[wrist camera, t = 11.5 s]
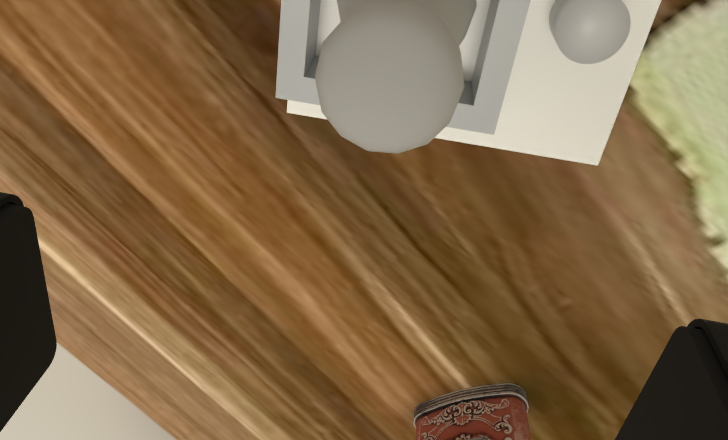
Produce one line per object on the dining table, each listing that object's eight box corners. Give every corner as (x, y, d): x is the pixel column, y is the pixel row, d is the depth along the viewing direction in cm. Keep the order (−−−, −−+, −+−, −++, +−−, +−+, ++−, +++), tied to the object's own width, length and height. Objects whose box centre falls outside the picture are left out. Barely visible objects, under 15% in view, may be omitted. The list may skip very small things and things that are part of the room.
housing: (711, -155, 25) (752, -151, 21) (593, 156, 32) (611, 195, 29) (314, -219, 25) (294, -225, 22) (290, 105, 33) (273, 137, 29)
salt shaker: (319, -31, 28) (238, 64, 17) (427, -114, 26) (413, -67, 15) (392, 75, 30) (362, 217, 19) (498, 6, 28) (531, 124, 17)
